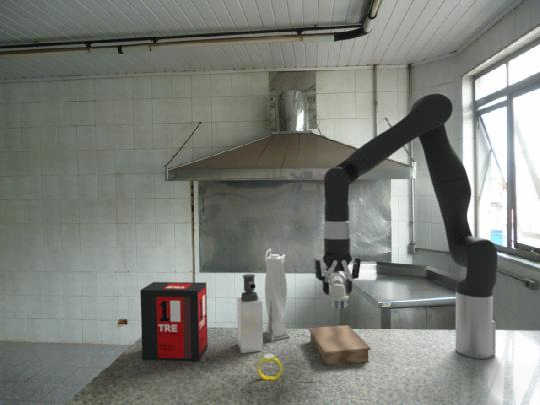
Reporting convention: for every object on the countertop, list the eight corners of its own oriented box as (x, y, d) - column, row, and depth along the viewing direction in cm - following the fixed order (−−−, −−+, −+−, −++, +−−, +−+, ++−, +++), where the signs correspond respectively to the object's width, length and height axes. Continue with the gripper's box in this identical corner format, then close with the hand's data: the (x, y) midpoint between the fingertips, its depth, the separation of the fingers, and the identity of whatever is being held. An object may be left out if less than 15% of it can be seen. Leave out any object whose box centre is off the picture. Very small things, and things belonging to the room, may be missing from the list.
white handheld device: (344, 273, 118) (348, 282, 94) (344, 294, 118) (349, 308, 93) (328, 273, 119) (328, 282, 94) (328, 294, 118) (328, 308, 94)
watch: (258, 382, 91) (255, 358, 90) (259, 376, 93) (257, 353, 93) (281, 381, 90) (279, 358, 90) (282, 375, 93) (280, 352, 93)
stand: (348, 337, 116) (348, 325, 116) (370, 362, 99) (370, 347, 99) (308, 340, 114) (308, 328, 114) (325, 366, 97) (324, 351, 97)
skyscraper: (258, 332, 121) (257, 249, 120) (280, 328, 125) (279, 247, 124) (270, 342, 114) (269, 253, 113) (292, 337, 117) (291, 250, 116)
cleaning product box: (142, 359, 103) (140, 290, 102) (155, 346, 112) (153, 281, 111) (199, 361, 101) (197, 290, 101) (207, 347, 110) (206, 282, 110)
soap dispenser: (242, 356, 104) (241, 280, 103) (237, 344, 112) (236, 273, 112) (264, 353, 105) (263, 278, 105) (258, 341, 114) (257, 272, 113)
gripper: (316, 238, 101) (317, 298, 101) (365, 237, 103) (366, 295, 104) (309, 235, 108) (310, 291, 109) (355, 234, 110) (355, 288, 111)
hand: (337, 293), depth 106 cm, fingers closed on white handheld device, 5 cm apart
